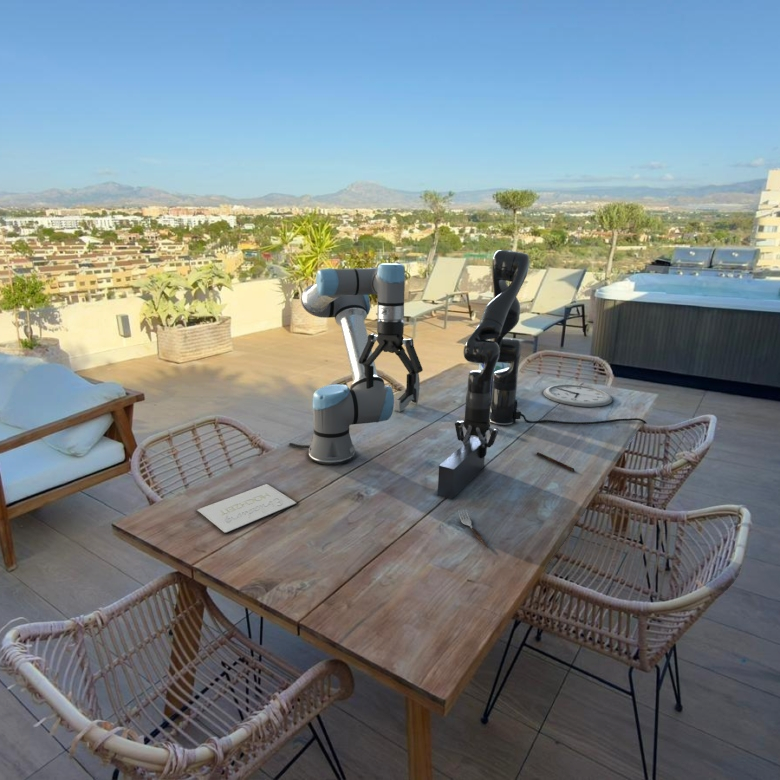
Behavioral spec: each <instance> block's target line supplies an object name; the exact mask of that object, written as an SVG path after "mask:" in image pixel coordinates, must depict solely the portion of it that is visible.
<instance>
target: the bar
mask: <svg viewBox="0 0 780 780" xmlns="http://www.w3.org/2000/svg"><path fill="white" fill-rule="evenodd" d="M481 447H482V446H481V442H480V441H479V437H476V436H471V437H470V440H469V441H467V442H466V443H465V444H464V445H463V444H462V445H461V446H460V447H459V448H458V449H457V450H455V451H454V452H453V453H452V454H451V455H449V456H448V457H447V458H446V459H445V460H444V461H443V462H441V463H440V464H439V465H438V477H437V479H438V480H437V496H438V497H442V498H445V499H448V500H453V499H454V498H455V497H456V496H457V495H458V494H459V493H460V492H461V491H462V490H463V489H464V488H465V487H467V485H468V484H469V482H471V481H472V480H473V479H474V478H475V477H476V476H477V475H478V474H479V473H480V472H481V470H483V469H484V467H485V458H486V456H485V457H484V458H483V459H482V458H480V450H481Z"/></svg>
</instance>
